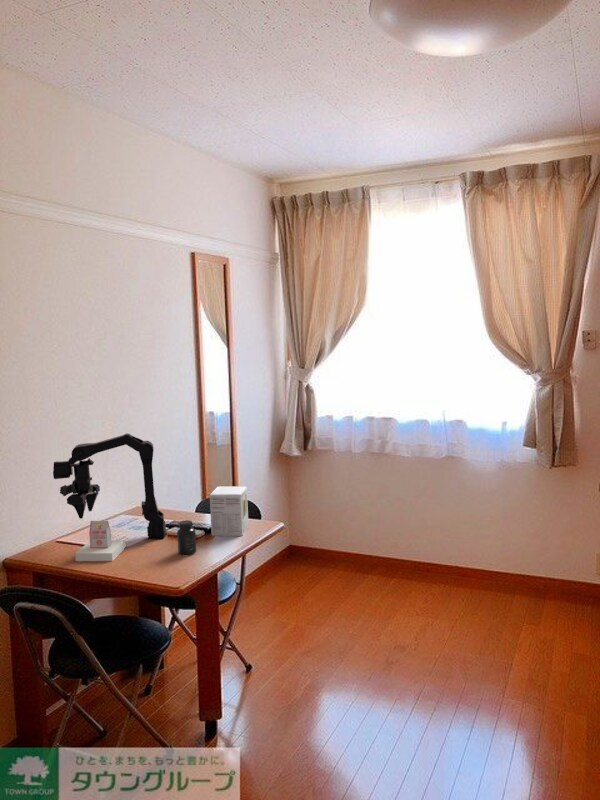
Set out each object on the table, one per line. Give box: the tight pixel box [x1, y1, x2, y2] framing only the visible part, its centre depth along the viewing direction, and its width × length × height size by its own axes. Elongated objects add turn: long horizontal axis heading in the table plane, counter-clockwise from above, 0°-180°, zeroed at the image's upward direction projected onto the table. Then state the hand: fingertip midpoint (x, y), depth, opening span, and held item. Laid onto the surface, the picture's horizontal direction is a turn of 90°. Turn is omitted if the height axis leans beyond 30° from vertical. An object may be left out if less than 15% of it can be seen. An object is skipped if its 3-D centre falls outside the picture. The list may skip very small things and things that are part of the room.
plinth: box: [74, 539, 127, 562], centre depth 229 cm, size 14×14×3 cm
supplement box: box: [209, 485, 249, 537], centre depth 251 cm, size 13×13×18 cm
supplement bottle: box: [176, 519, 197, 556], centre depth 227 cm, size 7×7×12 cm
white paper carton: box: [88, 520, 112, 548], centre depth 228 cm, size 4×7×10 cm, turn 86°
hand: (85, 514), depth 239 cm, fingers open, 9 cm apart
